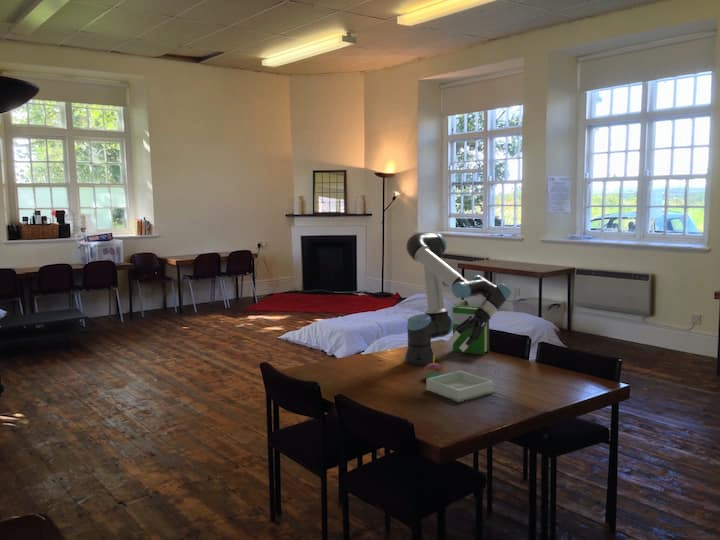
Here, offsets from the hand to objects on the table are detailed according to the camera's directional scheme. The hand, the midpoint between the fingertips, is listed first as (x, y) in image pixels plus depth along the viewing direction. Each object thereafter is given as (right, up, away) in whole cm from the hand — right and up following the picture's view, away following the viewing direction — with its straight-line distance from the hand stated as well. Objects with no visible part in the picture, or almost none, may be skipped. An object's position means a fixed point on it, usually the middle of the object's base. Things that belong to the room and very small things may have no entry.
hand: (455, 346), depth 281 cm
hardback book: (+16, -9, +47) cm, 50 cm away
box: (-1, -17, -20) cm, 26 cm away
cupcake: (-10, -15, -1) cm, 18 cm away
